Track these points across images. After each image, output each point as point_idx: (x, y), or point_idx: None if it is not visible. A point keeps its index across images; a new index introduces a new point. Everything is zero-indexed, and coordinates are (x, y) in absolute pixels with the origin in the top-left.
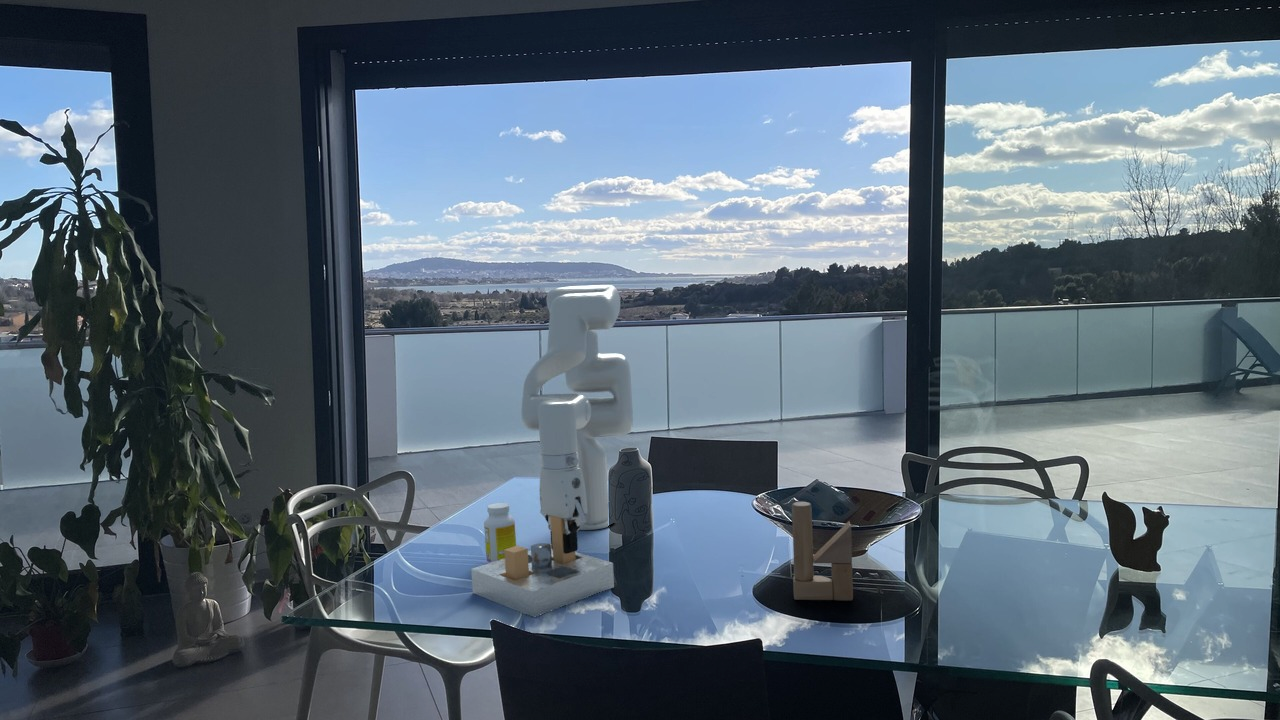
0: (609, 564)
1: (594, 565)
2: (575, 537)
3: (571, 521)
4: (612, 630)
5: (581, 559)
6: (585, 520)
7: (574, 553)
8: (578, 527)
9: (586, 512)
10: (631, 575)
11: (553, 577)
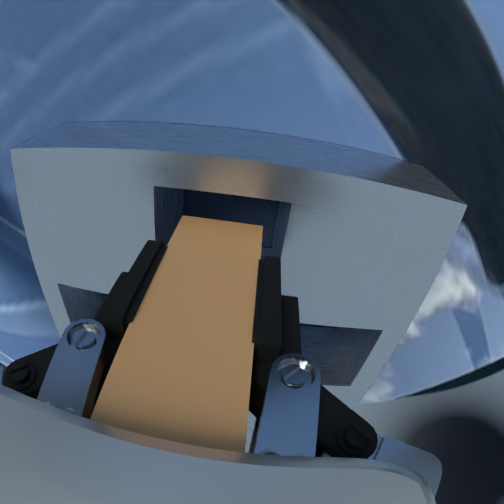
0: (458, 223)
1: (408, 264)
2: (299, 343)
3: (245, 428)
4: (487, 349)
5: (304, 230)
6: (437, 470)
7: (260, 247)
8: (347, 415)
9: (429, 494)
10: (410, 31)
11: (328, 387)
